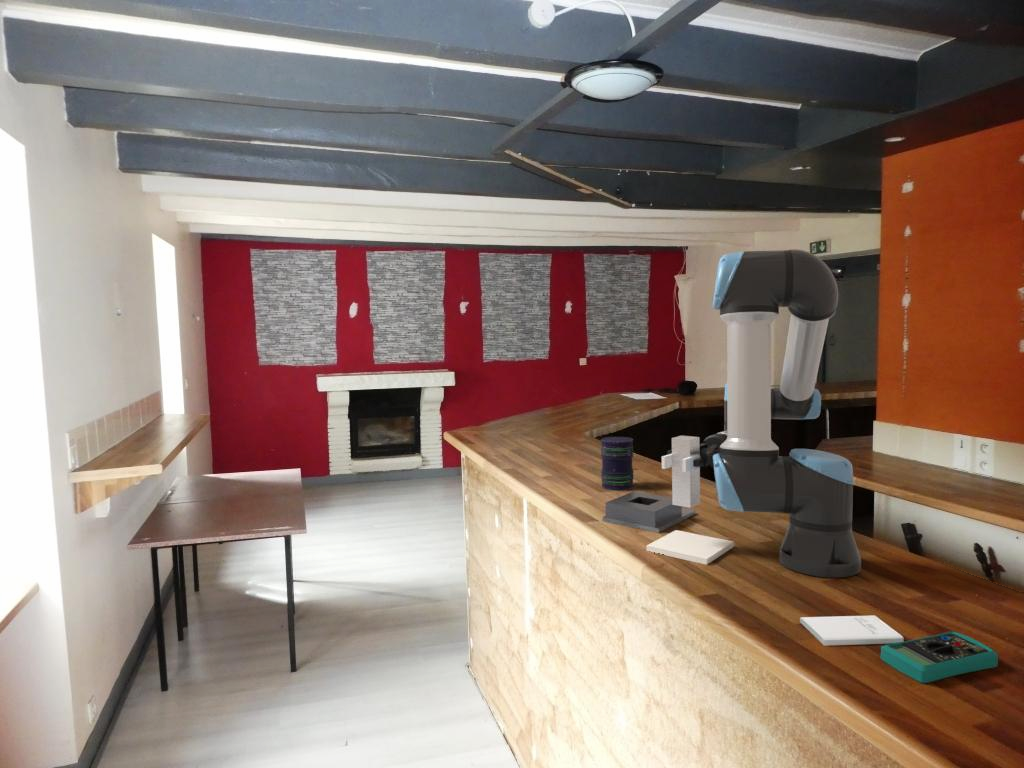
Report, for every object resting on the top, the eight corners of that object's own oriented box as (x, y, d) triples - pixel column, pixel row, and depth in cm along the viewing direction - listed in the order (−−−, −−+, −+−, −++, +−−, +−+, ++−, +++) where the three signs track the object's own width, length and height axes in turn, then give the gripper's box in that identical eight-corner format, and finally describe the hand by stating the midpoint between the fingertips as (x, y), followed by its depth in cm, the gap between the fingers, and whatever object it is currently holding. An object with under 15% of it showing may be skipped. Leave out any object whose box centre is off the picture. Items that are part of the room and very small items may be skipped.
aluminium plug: (700, 503, 147) (699, 437, 145) (690, 507, 143) (689, 439, 142) (682, 500, 150) (681, 435, 148) (672, 504, 146) (671, 438, 145)
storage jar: (599, 490, 200) (599, 441, 198) (602, 482, 209) (602, 436, 208) (632, 491, 197) (632, 442, 196) (634, 483, 207) (634, 436, 205)
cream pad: (733, 546, 146) (733, 541, 146) (706, 564, 136) (706, 559, 136) (676, 534, 155) (676, 529, 155) (646, 550, 145) (646, 545, 145)
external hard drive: (799, 625, 109) (873, 623, 109) (824, 649, 101) (903, 646, 101) (799, 616, 109) (873, 613, 109) (824, 639, 101) (904, 636, 101)
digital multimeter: (1001, 669, 94) (1002, 649, 94) (922, 687, 90) (923, 667, 89) (953, 645, 101) (954, 627, 101) (877, 662, 97) (878, 642, 96)
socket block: (695, 513, 172) (695, 495, 172) (658, 532, 157) (658, 512, 157) (641, 504, 183) (641, 486, 182) (602, 521, 168) (602, 501, 167)
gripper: (757, 467, 153) (711, 486, 136) (689, 459, 165) (639, 476, 148) (757, 436, 152) (711, 451, 136) (689, 430, 164) (638, 443, 147)
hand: (673, 464), depth 142 cm, fingers closed on aluminium plug, 4 cm apart
